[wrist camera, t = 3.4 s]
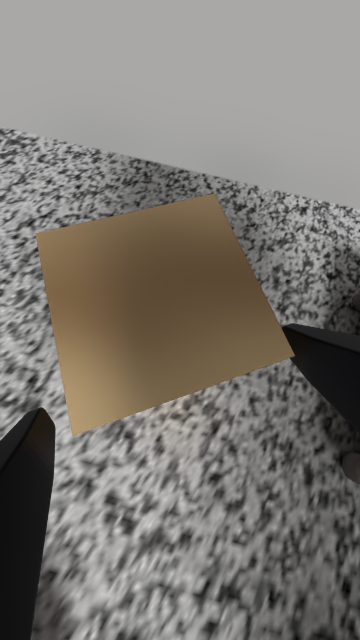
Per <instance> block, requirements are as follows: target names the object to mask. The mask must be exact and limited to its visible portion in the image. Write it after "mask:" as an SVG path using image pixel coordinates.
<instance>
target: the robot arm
mask: <svg viewBox="0 0 360 640" xmlns="http://www.w3.org/2000/svg"><path fill="white" fill-rule="evenodd" d="M282 331H283V333H284V335H285V337H286V339H287V341H288V343H289V345H290V347H291V349H292V351H293V353H294V355H295V356H293V357H290V359H291V360H292V361H293V363H294V364H295V365H296V366H297V368H298V369H299V370H300V371H301V373H302V374H303V375H304V376H305V378H306V379H307V380H308V381H309V382H310V383H311V384H312V385H313V386H314V387H315V388H316V389H317V390H318V391H319V392H320V393H321V395H322V396H323V397H324V398H325V399H326V400H327V401H328V402H329V403H330V404H331V405H332V406H333V407H334V408H335V409H336V410H337V411H338V412H339V413H340V414H341V415H342V416H343V417H344V418H345V419H346V420H347V421H348V422H349V423H350V424H351V425H352V426H353V427H354V428H355V430H356V431H357V432H358V433H359V434H360V336H358V335H352V334H347V333H342V332H336V331H331V330H326V329H320V328H315V327H310V326H304V325H299V324H294V323H291V324H288V325H285V326H283V327H282ZM54 461H55V425H54V422H53V421H52V419H51V418H50V416H49V415H48V413H47V412H46V410H45V409H44V408H41V407H40V408H37V409H34V410H31V411H29V412H27V413H26V414H25V415H24V417H23V418H22V419H21V420H20V421H19V422H18V423H17V424H16V425H15V426H14V427H13V428H12V429H11V430H10V431H9V432H8V433H7V434H6V435H5V436H4V437H3V439H2V440H1V441H0V640H30V639H31V632H32V625H33V618H34V611H35V604H36V597H37V590H38V583H39V576H40V569H41V562H42V556H43V549H44V542H45V535H46V528H47V521H48V514H49V507H50V500H51V493H52V486H53V478H54Z"/></svg>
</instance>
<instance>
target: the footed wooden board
mask: <svg viewBox="0 0 360 640" xmlns="http://www.w3.org/2000/svg"><path fill="white" fill-rule="evenodd" d="M352 305H353V307H354V308H355V309H356V310H357V311H359V312H360V293H358V294H356V295H355V296H353V298H352ZM342 468H343V471H344V473H345V475H346V476H347V477H348V478H349V479H350V480H352V481H354V482H356V483H359V484H360V454H357V453H353V452H350V453H347V454H346V455H345V456H344V457H343V460H342Z"/></svg>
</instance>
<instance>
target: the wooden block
mask: <svg viewBox="0 0 360 640" xmlns="http://www.w3.org/2000/svg"><path fill="white" fill-rule="evenodd" d="M36 239H37V244H38V250H39V255H40V261H41V266H42V272H43V277H44V283H45V288H46V294H47V299H48V305H49V310H50V315H51V321H52V326H53V332H54V337H55V343H56V348H57V354H58V359H59V365H60V370H61V376H62V381H63V387H64V392H65V398H66V403H67V409H68V414H69V420H70V425H71V431H72V436H74V435H77V434H80V433H83V432H85V431H88V430H91V429H94V428H97V427H99V426H102V425H105V424H108V423H110V422H113V421H116V420H119V419H121V418H124V417H127V416H130V415H133V414H135V413H138V412H141V411H144V410H146V409H149V408H152V407H155V406H157V405H160V404H163V403H166V402H169V401H171V400H174V399H177V398H180V397H182V396H185V395H188V394H191V393H193V392H196V391H199V390H202V389H205V388H207V387H210V386H213V385H216V384H218V383H221V382H224V381H227V380H229V379H232V378H235V377H238V376H241V375H243V374H246V373H249V372H252V371H254V370H257V369H260V368H263V367H265V366H268V365H271V364H274V363H277V362H279V361H282V360H285V359H288V358H290V357H293V356H295V355H294V353H293V351H292V349H291V347H290V345H289V343H288V341H287V339H286V337H285V335H284V333H283V331H282V329H281V327H280V325H279V323H278V321H277V319H276V317H275V315H274V313H273V311H272V308H271V306H270V304H269V302H268V300H267V298H266V296H265V294H264V292H263V290H262V288H261V286H260V284H259V282H258V280H257V278H256V276H255V274H254V272H253V270H252V268H251V266H250V264H249V262H248V260H247V258H246V256H245V254H244V252H243V250H242V248H241V246H240V244H239V242H238V240H237V238H236V236H235V234H234V232H233V230H232V228H231V226H230V224H229V222H228V220H227V218H226V216H225V214H224V212H223V210H222V208H221V206H220V204H219V202H218V200H217V198H216V196H215V194H210V195H205V196H201V197H197V198H192V199H188V200H183V201H179V202H174V203H170V204H165V205H161V206H156V207H152V208H148V209H143V210H139V211H134V212H130V213H125V214H121V215H116V216H112V217H107V218H103V219H98V220H94V221H90V222H85V223H81V224H76V225H72V226H67V227H63V228H58V229H54V230H49V231H45V232H41V233H36Z"/></svg>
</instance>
